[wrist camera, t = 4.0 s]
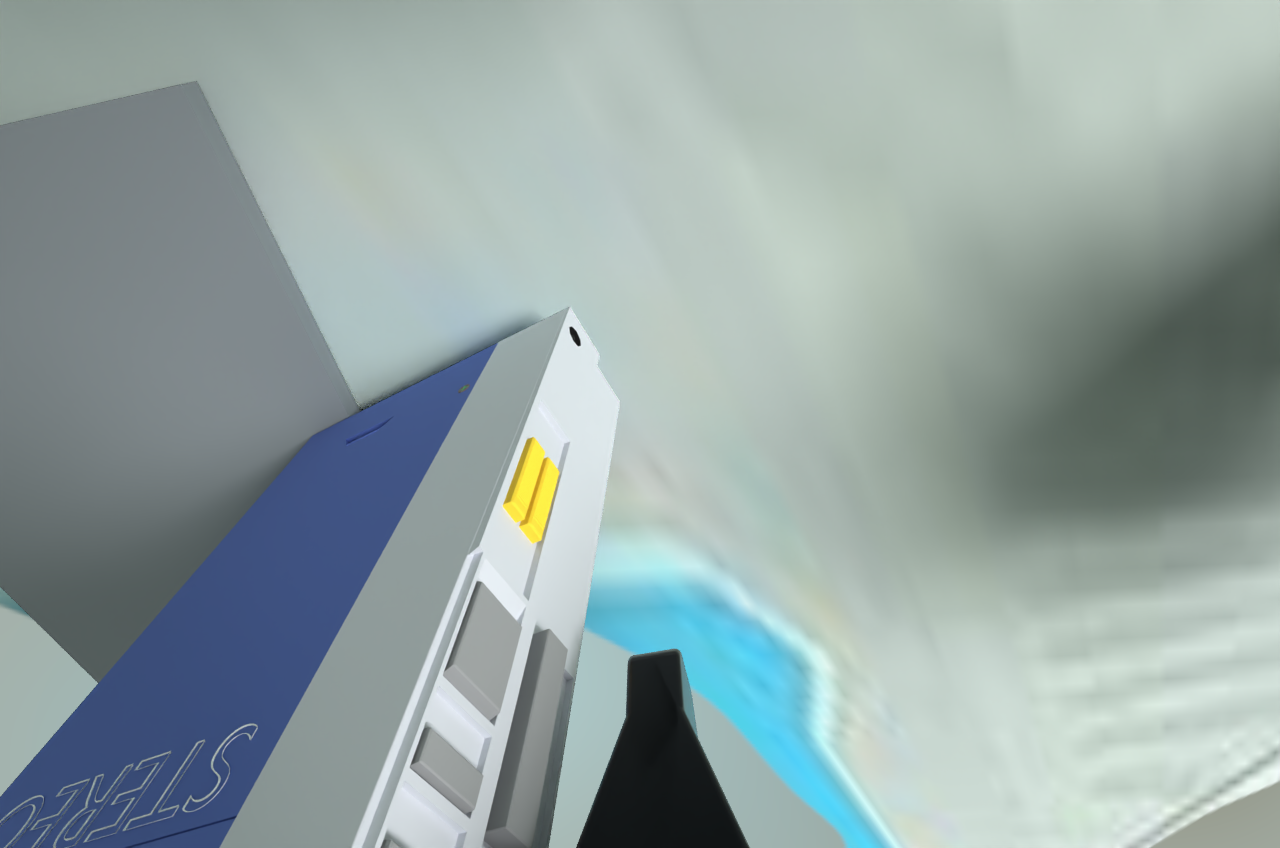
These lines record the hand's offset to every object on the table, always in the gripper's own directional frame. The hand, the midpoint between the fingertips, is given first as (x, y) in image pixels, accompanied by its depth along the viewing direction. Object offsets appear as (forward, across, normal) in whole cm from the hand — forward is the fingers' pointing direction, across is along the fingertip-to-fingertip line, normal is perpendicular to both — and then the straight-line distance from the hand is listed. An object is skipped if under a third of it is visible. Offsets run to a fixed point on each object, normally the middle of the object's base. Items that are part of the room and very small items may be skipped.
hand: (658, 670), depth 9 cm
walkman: (+8, +4, 0) cm, 10 cm away
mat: (+9, +13, 0) cm, 16 cm away
